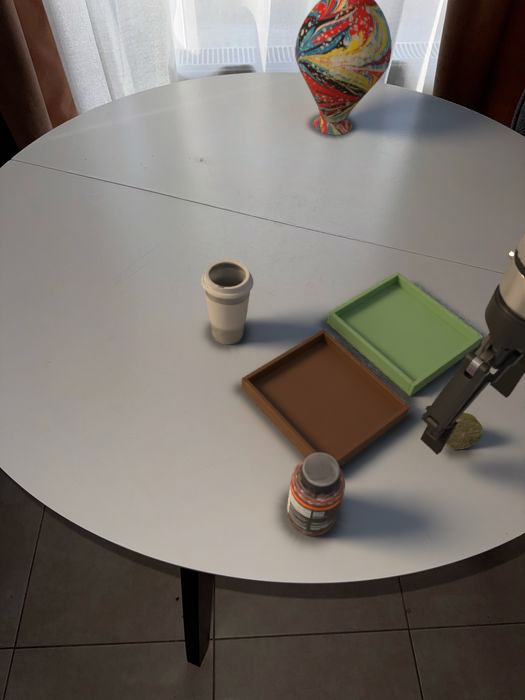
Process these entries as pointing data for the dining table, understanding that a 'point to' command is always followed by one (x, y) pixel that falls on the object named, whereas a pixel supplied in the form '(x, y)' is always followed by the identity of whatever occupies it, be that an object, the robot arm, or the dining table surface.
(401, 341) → the green tray
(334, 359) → the walnut tray
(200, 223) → the dining table surface
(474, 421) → the lime
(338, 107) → the vase
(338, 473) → the supplement bottle
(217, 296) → the cup
